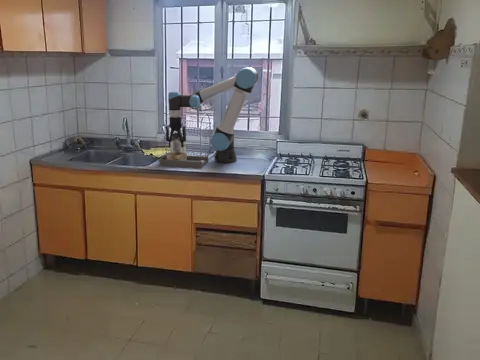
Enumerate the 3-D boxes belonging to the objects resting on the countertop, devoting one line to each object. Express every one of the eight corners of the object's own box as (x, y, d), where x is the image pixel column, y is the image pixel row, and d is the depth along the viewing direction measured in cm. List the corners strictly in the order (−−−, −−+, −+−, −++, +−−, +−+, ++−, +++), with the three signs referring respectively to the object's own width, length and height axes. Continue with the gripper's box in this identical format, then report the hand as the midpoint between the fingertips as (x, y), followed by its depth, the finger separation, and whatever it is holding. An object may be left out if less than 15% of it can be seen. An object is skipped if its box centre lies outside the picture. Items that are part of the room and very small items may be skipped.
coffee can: (173, 155, 316) (172, 135, 313) (187, 155, 316) (186, 136, 312) (169, 158, 307) (168, 138, 303) (184, 159, 306) (183, 138, 302)
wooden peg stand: (186, 159, 297) (185, 131, 292) (181, 163, 288) (180, 134, 282) (172, 158, 299) (171, 131, 294) (166, 162, 290) (165, 133, 284)
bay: (208, 162, 298) (208, 154, 296) (201, 168, 283) (201, 159, 281) (168, 160, 303) (168, 152, 302) (159, 165, 288) (159, 157, 287)
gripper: (159, 116, 284) (160, 152, 290) (187, 117, 280) (188, 153, 286) (163, 115, 291) (165, 150, 297) (191, 116, 287) (192, 151, 294)
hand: (176, 151), depth 292 cm, fingers open, 6 cm apart
